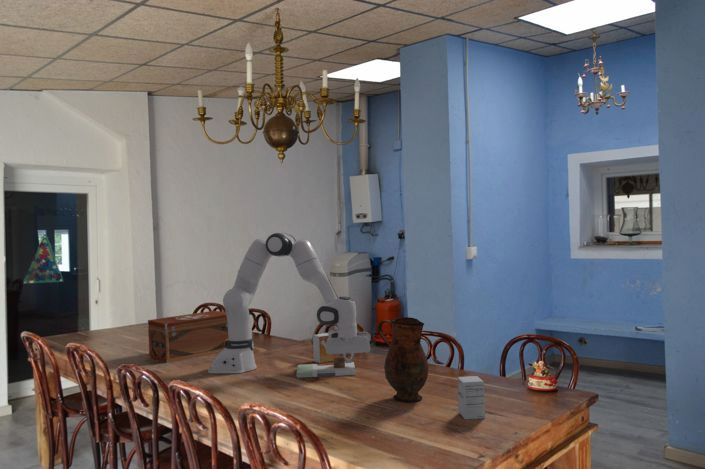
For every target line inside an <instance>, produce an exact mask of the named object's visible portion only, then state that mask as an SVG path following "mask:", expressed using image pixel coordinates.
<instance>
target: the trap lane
mask: <svg viewBox="0 0 705 469" xmlns="http://www.w3.org/2000/svg"><path fill="white" fill-rule="evenodd" d="M356 371H357V370H356V367H355V362H354V361H352V363H346V361H345V368H334V364H329V365H328V364H327V365H318V363H309V364H308V363H307V364H304V363H303V364H297V369H296V378H297V379H298V378H299V379H300V378H317V377H319V378H320V377H322V378H323V377H335V376H336V377H340V376H356V375H357V373H356Z"/></svg>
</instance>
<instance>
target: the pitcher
mask: <svg viewBox="0 0 705 469" xmlns="http://www.w3.org/2000/svg"><path fill="white" fill-rule="evenodd" d="M385 323H389V324H390V327H391V341H390V340H389V339H388V338H387V337H386V336H385V334H384V332H383V326H384V324H385ZM424 326H425V322H422V321H420V320H419V319H417V318H415V317H405V316H403V317H397V318H393V319H385V320H382V321H381V322H379V323H378V326H377V333H378V334H379V336H380V337H381V339H382V340H383V341H384V343H385V344H386V346H387V347H388V351H387V354H386V357H385V362H384V366H383V368H384V369H383V371H384V375H385V379H386V380H387V382H388V384H389V386H391V388H392V389H393V390H394V391H395V392H396V393H395V394H394V395H393V400H395V401H397V402H401V403H417V402H420V401H422V400H423V397H422V395H420V394H419V392H420V391H421V390H422V388H423V387H425V384H426V382H427V379H428V377H429V362H428V358H427V356H426V353H425V350H424V348H423V345H422V343H421V340H422V339H421V338H422V332H423V329H424Z"/></svg>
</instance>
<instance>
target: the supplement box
mask: <svg viewBox="0 0 705 469" xmlns="http://www.w3.org/2000/svg"><path fill="white" fill-rule="evenodd" d="M457 394H458V395H457V398H458V399H457V400H458V401H457V402H458V406H457V407H458V413H459V414H460V415H461V417H463V419H464V420H478V419H485V418H486V410H485V409H486V408H485V405H486V404H485V403H486V401H485V382H484V380H483V379H481V377H479V376H478V375H470V376H469V375H468V376H458V377H457Z"/></svg>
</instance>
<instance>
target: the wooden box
mask: <svg viewBox="0 0 705 469" xmlns="http://www.w3.org/2000/svg"><path fill="white" fill-rule="evenodd" d="M147 326H148V327H147V331H148V333H147V334H148V351H149V352H148V353H149V354H148V355H149V358H150V359H153V360H156V361H159V362H163V363H166V364H169V363H175V362H180V361H184V360H190V359H194V357H195V358H199V357H203V356H204V357H205V356H209V355H214V354H218V353H219V352H220V351H222V350H223V349H224V348H225V347H224V341H225V340H226V339H228V323H227V317H226V312H225V311H219V310H211V311H205V312H204V311H203V312H197V313H196V312H195V313H189V314H182V315H175V316H167V317H160V318H155V319H148V320H147Z"/></svg>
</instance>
